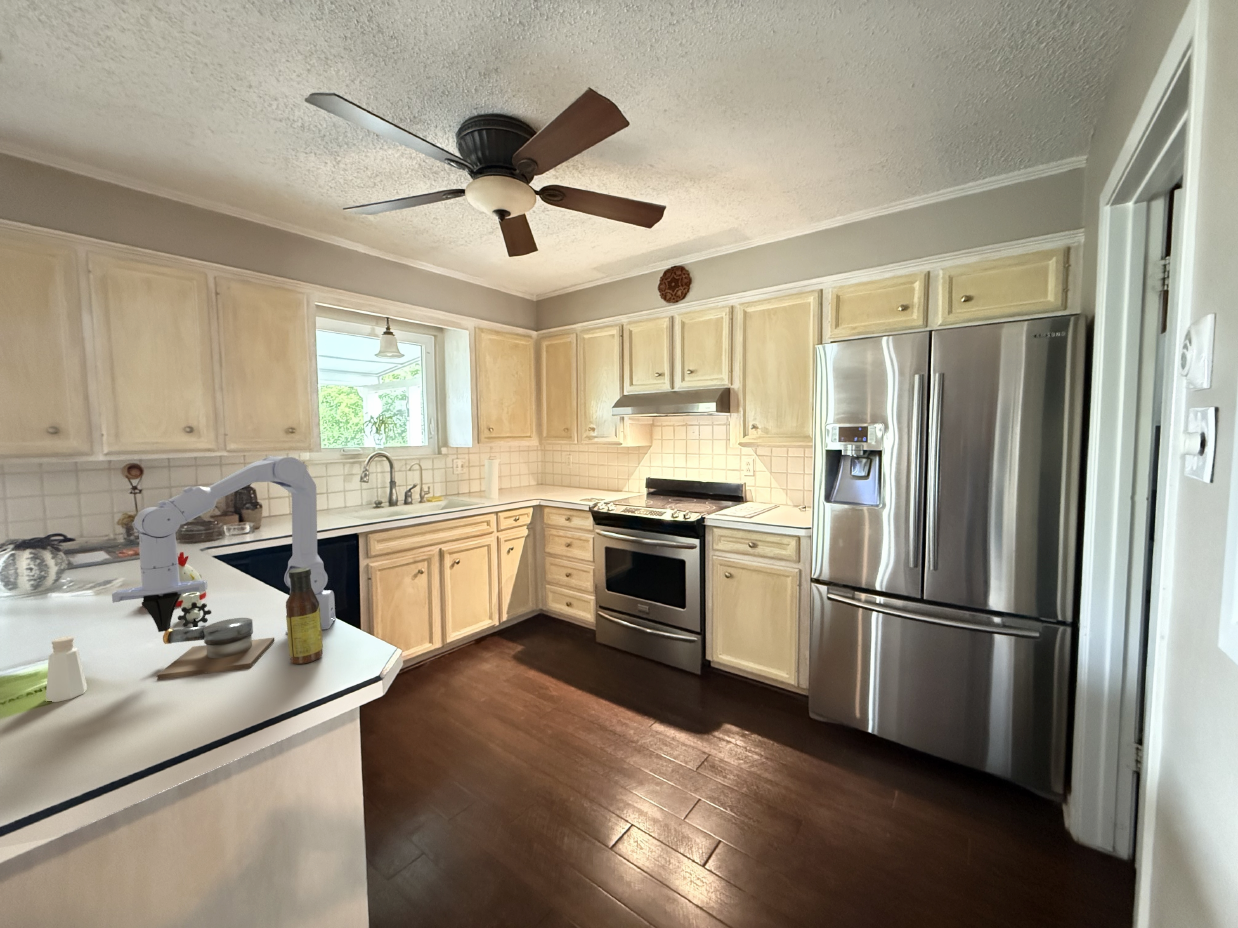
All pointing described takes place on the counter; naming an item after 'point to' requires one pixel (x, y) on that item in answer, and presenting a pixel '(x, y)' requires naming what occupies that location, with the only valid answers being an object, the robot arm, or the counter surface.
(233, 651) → the thin wooden panel
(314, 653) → the sauce bottle
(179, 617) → the valve
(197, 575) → the white and red dome
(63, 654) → the pepper shaker
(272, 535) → the counter surface
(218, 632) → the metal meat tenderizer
